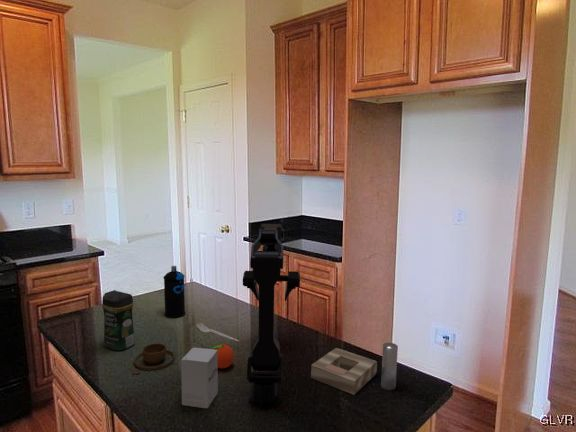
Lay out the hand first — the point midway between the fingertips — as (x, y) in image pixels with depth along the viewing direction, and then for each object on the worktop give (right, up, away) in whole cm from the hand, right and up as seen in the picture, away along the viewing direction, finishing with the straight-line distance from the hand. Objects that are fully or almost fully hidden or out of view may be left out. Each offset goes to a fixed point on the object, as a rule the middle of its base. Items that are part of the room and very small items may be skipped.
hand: (271, 300), depth 140 cm
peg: (+34, -19, -24) cm, 46 cm away
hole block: (+22, -19, -19) cm, 34 cm away
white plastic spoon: (-20, -15, +9) cm, 26 cm away
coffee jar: (-51, -15, -1) cm, 53 cm away
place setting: (-33, -18, -14) cm, 40 cm away
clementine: (-15, -18, -15) cm, 27 cm away
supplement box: (-18, -20, -31) cm, 41 cm away
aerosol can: (-40, -11, +26) cm, 49 cm away
